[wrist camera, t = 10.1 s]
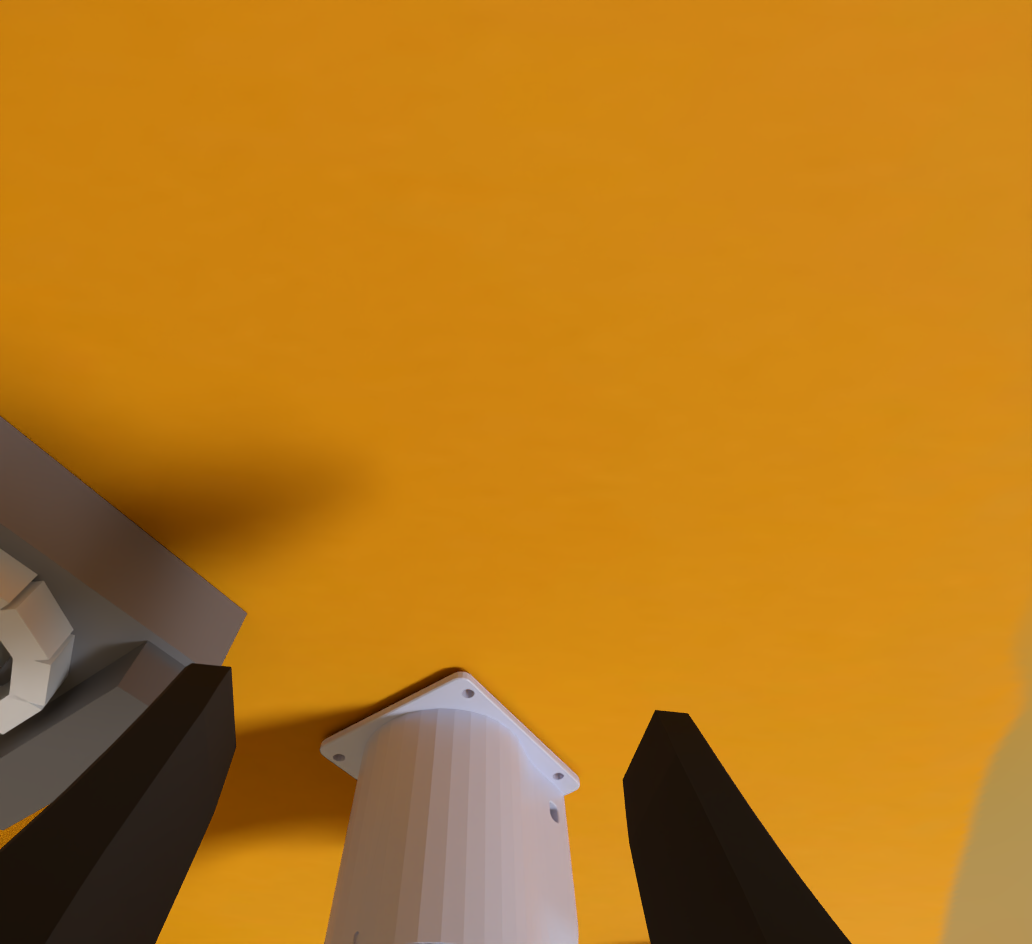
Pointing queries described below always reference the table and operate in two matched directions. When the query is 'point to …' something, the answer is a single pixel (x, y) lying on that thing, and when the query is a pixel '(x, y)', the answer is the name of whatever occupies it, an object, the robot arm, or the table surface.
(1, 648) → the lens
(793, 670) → the table surface
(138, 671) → the grey plate with ring
